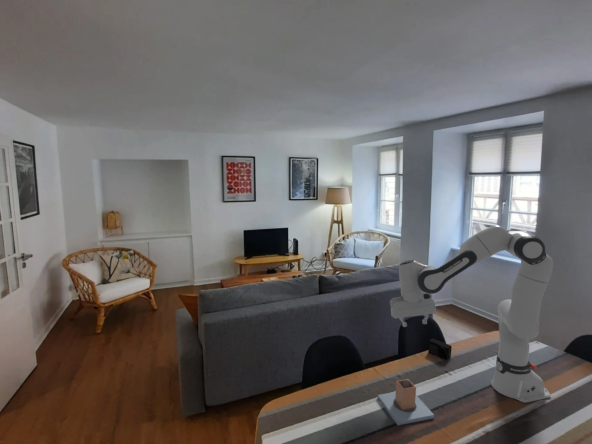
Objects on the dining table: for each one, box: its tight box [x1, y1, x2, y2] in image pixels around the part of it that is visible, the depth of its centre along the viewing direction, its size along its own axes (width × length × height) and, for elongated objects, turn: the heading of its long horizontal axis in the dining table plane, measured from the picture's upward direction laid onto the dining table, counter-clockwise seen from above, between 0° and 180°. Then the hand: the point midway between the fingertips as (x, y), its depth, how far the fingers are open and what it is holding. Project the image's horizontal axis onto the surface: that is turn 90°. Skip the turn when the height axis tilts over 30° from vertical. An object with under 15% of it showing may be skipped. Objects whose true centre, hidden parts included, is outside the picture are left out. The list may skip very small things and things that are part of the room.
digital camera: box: [427, 338, 453, 362], centre depth 175 cm, size 10×5×7 cm, turn 40°
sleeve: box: [395, 378, 417, 410], centre depth 135 cm, size 6×6×9 cm
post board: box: [377, 379, 435, 426], centre depth 135 cm, size 16×16×12 cm
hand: (414, 325), depth 153 cm, fingers open, 8 cm apart
